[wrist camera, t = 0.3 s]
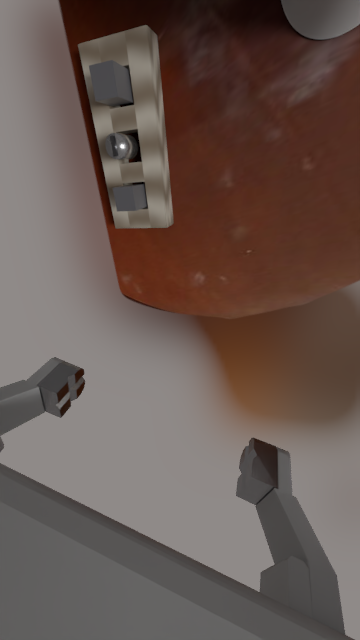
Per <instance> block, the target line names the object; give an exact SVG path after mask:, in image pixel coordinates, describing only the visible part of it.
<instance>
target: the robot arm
mask: <svg viewBox="0 0 360 640" xmlns="http://www.w3.org/2000/svg"><path fill="white" fill-rule="evenodd" d="M281 3H282V7H283V10H284V13H285V15H286V17H287V19H288V21H289V23H290V24H291V25H292V27H293V28H294V29H295V30H296V31H297V32H299V33H300V34H302V35H303V36H305V37H308V38H311V39H318V40H323V39H330V38H334V37H337V36H340V35H342V34H344V33H346V32H348V31H350V30H351V29H353V28H355V27H356V26H357V25H359V24H360V0H281ZM83 375H84V369H82V368H80V367H77V366H75V365H72V364H70V363H68V362H65V361H63V360H60V359H58V358H56V357H54V358H52V359H50V360H49V361H48V362H47V363H46V364H45V365H43V366H42V367H41V368H40V369H39V370H38V371H37V372H36V373H35V374H33V375H32V376H31V377H30V378H29V379H28V380H27V381H25V380H22V381H19V382H16V383H13V384H10V385H7V386H4V387H1V388H0V436H1V435H3V434H4V433H6V432H8V431H10V430H12V429H14V428H16V427H18V426H19V425H21V424H23V423H25V422H27V421H29V420H31V419H33V418H35V417H37V416H39V415H40V414H42V413H44V412H45V411H46V412H48V413H51V414H53V415H56V416H58V417H60V418H61V417H62V416H63V415H64V414H65V412H66V411H67V410H68V409H69V407H70V406H71V401H72V400H75V399H77V398H78V397H79V395H80V394H81V393H82V391H83V389H84V385H85V380H84V378H83V377H82V376H83ZM3 448H4V444H3V442H2V439H1V437H0V452H1V450H2V449H3ZM239 469H240V471H241V473H242V474H241V475H240V477H239V478H238V482H237V492H236V496H238V497H240V498H242V499H244V500H246V501H248V502H250V503H252V504H254V505H256V509H257V512H258V515H259V518H260V521H261V524H262V527H263V530H264V533H265V536H266V539H267V542H268V545H269V548H270V551H271V554H272V557H273V560H274V563H275V565H274V566H271V567H269V568H268V569H266V570H264V571H262V572H261V579H260V592H258V591H256V590H254V589H252V588H250V587H248V586H246V585H244V584H242V583H240V582H238V581H236V580H234V579H232V578H230V577H228V576H226V575H223V574H221V573H220V572H218V571H216V570H214V569H212V568H210V567H208V566H206V565H204V564H202V563H200V562H198V561H195V560H193V559H192V558H190V557H187V556H186V555H184V554H182V553H179V552H177V551H175V550H173V549H171V548H169V547H167V546H165V545H163V544H161V543H159V542H157V541H155V540H153V539H151V538H149V537H147V536H145V535H143V534H141V533H139V532H137V531H135V530H133V529H131V528H129V527H127V526H125V525H123V524H121V523H119V522H117V521H115V520H113V519H111V518H109V517H107V516H105V515H103V514H101V513H99V512H97V511H95V510H93V509H91V508H89V507H87V506H85V505H83V504H81V503H79V502H77V501H75V500H73V499H71V498H69V497H67V496H65V495H63V494H61V493H59V492H57V491H55V490H53V489H51V488H49V487H47V486H45V485H43V484H41V483H39V482H37V481H35V480H33V479H31V478H29V477H27V476H25V475H23V474H21V473H19V472H17V471H15V470H13V469H11V468H9V467H7V466H5V465H3V464H1V463H0V640H354V639H352V638H350V637H348V636H346V635H345V630H344V623H343V616H342V610H341V602H340V595H339V588H338V581H337V575H336V574H335V571H334V570H333V568H332V566H331V564H330V562H329V560H328V558H327V556H326V554H325V552H324V550H323V548H322V547H321V545H320V543H319V541H318V539H317V537H316V535H315V533H314V531H313V529H312V527H311V525H310V523H309V521H308V520H307V518H306V516H305V514H304V512H303V510H302V508H301V506H300V504H299V502H298V500H297V498H296V497H294V496H292V481H291V461H290V454H289V452H288V451H285V450H283V449H280V448H278V447H276V446H274V445H271V444H268V443H266V442H263V441H260V440H258V439H255V438H251V440H250V441H249V446H246V447H245V449H244V450H243V453H242V455H241V459H240V466H239Z"/></svg>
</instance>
